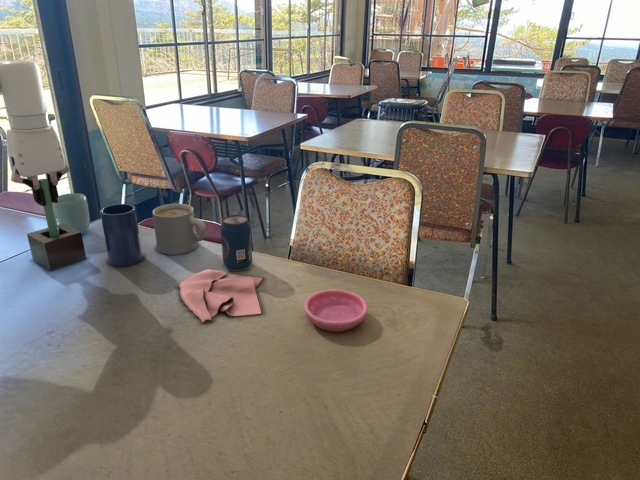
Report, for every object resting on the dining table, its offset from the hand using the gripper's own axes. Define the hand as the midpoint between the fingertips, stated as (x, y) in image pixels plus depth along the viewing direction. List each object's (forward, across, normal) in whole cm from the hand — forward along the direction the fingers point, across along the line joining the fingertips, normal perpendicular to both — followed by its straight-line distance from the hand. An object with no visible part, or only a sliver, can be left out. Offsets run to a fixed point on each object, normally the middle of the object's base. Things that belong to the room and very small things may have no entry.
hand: (47, 202), depth 110 cm
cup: (+15, -11, -13) cm, 23 cm away
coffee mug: (+15, -23, +17) cm, 32 cm away
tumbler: (+15, -10, +12) cm, 21 cm away
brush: (+15, 0, 0) cm, 15 cm away
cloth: (+15, -13, +43) cm, 47 cm away
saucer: (+15, -21, +67) cm, 72 cm away
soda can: (+15, -25, +36) cm, 46 cm away
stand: (+15, 0, 0) cm, 15 cm away
